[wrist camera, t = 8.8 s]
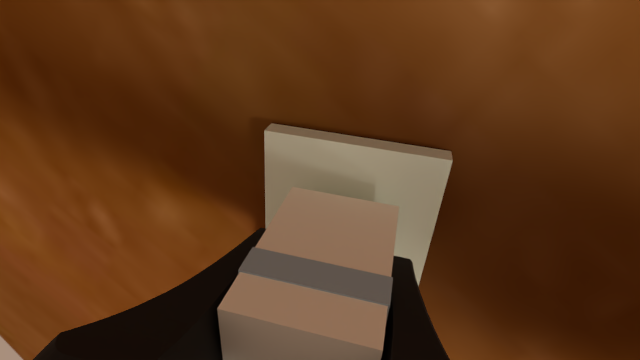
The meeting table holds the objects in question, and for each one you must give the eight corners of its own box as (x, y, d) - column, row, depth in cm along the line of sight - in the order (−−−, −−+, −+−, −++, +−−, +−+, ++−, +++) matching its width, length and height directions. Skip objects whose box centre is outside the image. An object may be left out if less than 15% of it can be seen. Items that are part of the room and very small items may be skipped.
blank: (400, 205, 13) (385, 349, 8) (383, 287, 15) (363, 444, 10) (291, 185, 14) (215, 306, 9) (289, 266, 16) (226, 402, 11)
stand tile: (451, 151, 14) (452, 160, 13) (414, 287, 17) (414, 300, 17) (271, 123, 15) (264, 130, 14) (272, 255, 18) (266, 266, 18)
